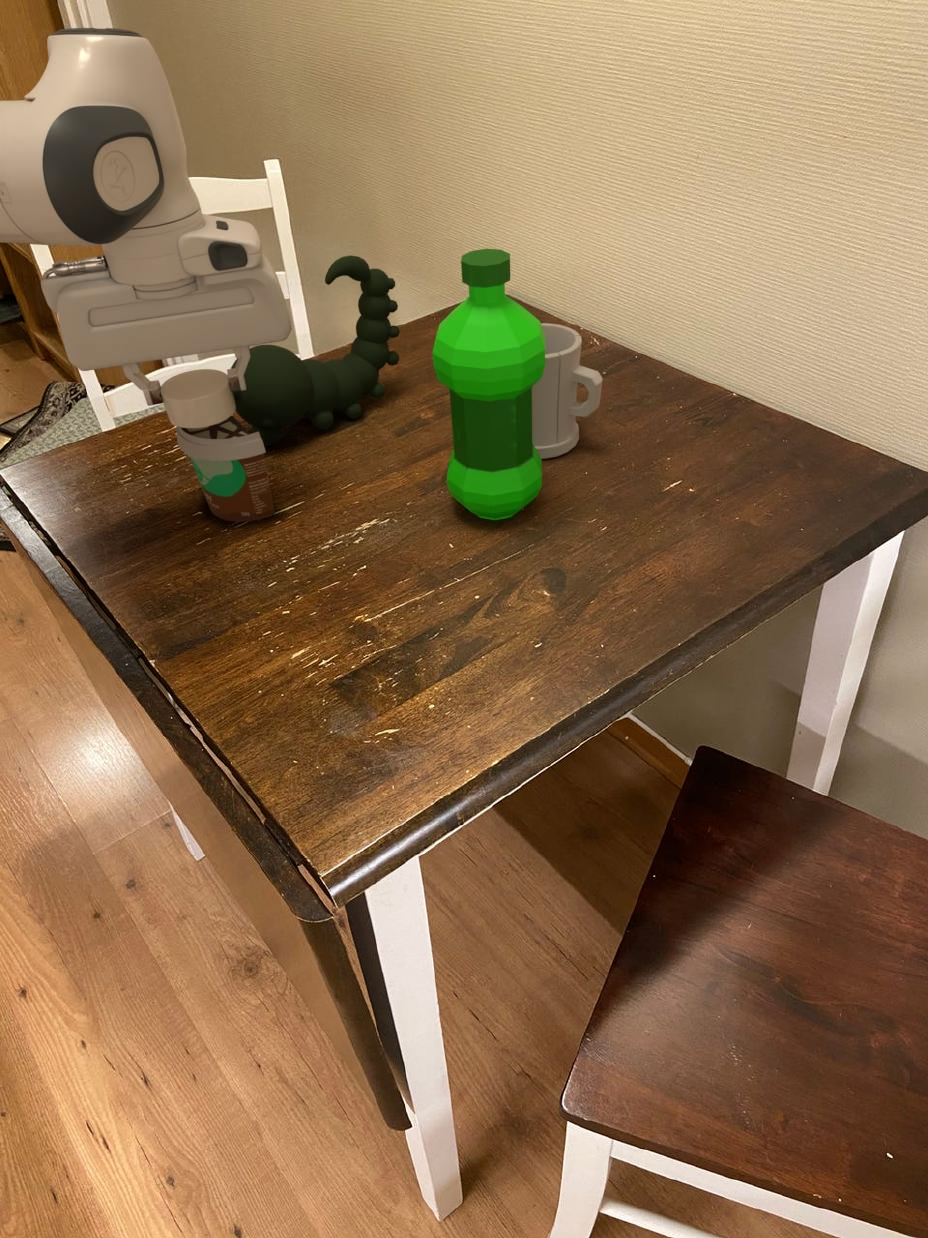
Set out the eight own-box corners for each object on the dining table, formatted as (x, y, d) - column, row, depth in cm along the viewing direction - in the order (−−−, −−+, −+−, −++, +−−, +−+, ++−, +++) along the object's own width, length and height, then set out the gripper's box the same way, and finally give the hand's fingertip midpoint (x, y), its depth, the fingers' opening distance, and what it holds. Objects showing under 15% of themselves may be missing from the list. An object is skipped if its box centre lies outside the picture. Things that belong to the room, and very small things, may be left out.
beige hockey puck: (167, 433, 84) (158, 404, 82) (169, 402, 89) (160, 374, 87) (237, 421, 85) (230, 392, 83) (235, 392, 89) (228, 364, 88)
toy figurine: (372, 391, 116) (198, 445, 103) (363, 239, 105) (166, 278, 92) (416, 414, 110) (237, 474, 97) (411, 256, 99) (208, 301, 86)
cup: (583, 416, 104) (586, 316, 96) (602, 455, 97) (607, 351, 89) (495, 426, 103) (491, 327, 96) (508, 466, 96) (504, 362, 89)
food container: (179, 493, 96) (152, 410, 90) (230, 473, 99) (208, 391, 92) (227, 543, 89) (202, 456, 82) (282, 520, 91) (261, 433, 85)
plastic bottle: (435, 490, 94) (412, 247, 77) (530, 472, 95) (527, 230, 79) (458, 542, 86) (438, 286, 70) (560, 522, 88) (564, 267, 72)
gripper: (27, 277, 73) (84, 428, 82) (276, 243, 75) (304, 392, 84) (37, 253, 77) (90, 398, 86) (270, 222, 80) (298, 365, 89)
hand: (198, 395), depth 85 cm, fingers closed on beige hockey puck, 6 cm apart
